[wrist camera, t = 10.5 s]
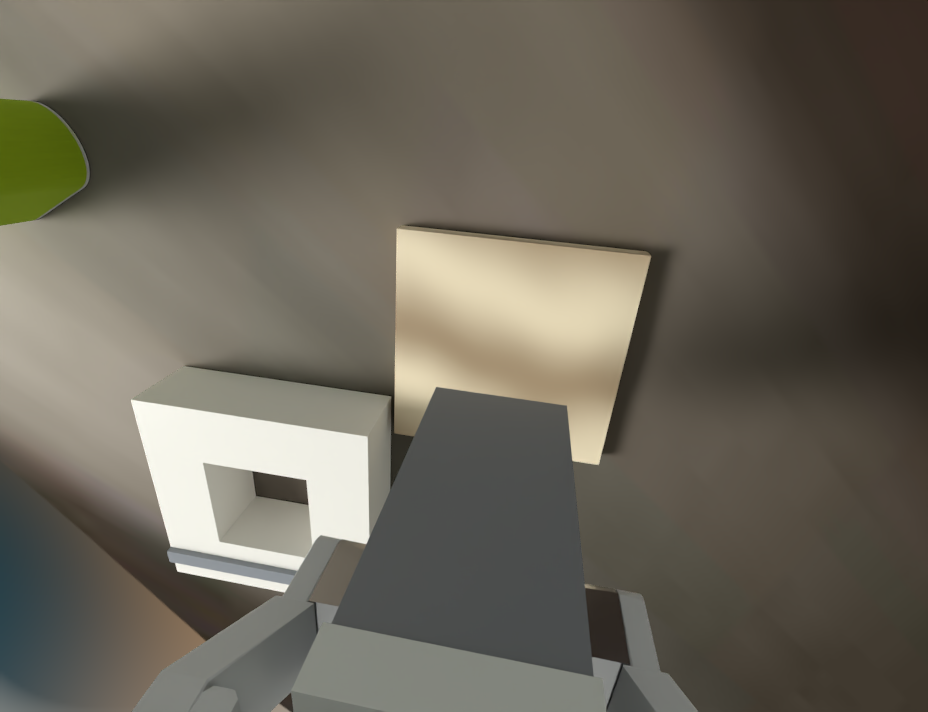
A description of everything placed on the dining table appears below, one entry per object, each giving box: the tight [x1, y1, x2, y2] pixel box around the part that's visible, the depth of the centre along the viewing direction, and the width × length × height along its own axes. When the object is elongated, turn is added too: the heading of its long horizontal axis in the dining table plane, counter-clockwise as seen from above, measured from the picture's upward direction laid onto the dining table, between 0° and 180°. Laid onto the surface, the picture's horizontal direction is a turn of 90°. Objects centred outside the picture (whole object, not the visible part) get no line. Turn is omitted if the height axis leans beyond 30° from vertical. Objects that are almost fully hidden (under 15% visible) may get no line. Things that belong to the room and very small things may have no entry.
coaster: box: [394, 225, 651, 465], centre depth 21 cm, size 10×10×1 cm
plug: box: [291, 387, 606, 712], centre depth 11 cm, size 4×4×9 cm
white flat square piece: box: [131, 366, 391, 592], centre depth 25 cm, size 11×11×4 cm
